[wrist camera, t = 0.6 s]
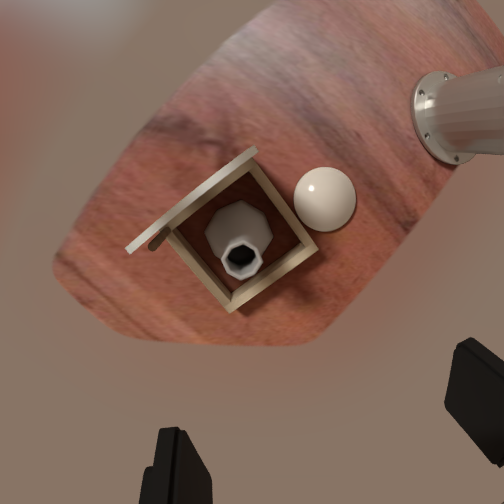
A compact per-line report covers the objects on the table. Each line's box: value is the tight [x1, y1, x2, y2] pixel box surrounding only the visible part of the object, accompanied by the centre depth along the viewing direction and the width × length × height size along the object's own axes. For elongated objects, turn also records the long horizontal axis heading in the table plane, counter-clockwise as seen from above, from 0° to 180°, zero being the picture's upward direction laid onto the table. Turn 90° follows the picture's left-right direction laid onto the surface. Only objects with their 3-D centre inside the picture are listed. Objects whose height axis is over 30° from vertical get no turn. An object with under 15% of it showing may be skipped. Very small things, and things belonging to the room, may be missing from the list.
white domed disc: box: [293, 167, 356, 231], centre depth 34 cm, size 7×7×1 cm
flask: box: [204, 200, 274, 281], centre depth 30 cm, size 7×7×10 cm
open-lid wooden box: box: [125, 145, 319, 314], centre depth 29 cm, size 12×13×12 cm
